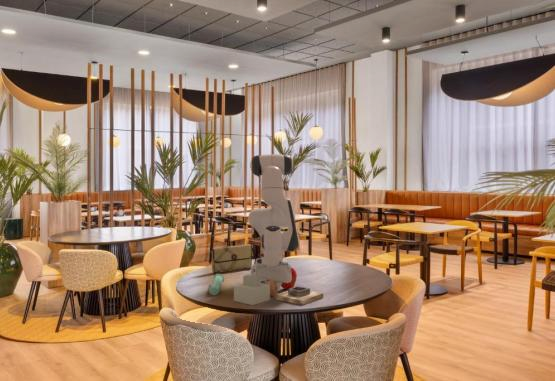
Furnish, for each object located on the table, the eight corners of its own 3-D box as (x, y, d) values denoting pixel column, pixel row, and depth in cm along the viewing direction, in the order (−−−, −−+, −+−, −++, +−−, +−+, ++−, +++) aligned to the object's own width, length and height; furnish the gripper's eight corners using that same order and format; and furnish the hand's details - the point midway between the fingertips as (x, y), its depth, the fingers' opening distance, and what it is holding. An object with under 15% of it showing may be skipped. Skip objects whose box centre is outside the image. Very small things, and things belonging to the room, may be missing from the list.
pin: (267, 295, 223) (267, 278, 223) (273, 293, 226) (272, 277, 226) (274, 296, 221) (273, 279, 220) (279, 295, 224) (279, 278, 223)
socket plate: (274, 299, 216) (274, 289, 216) (296, 292, 229) (296, 283, 229) (302, 305, 206) (302, 294, 206) (323, 297, 218) (323, 287, 218)
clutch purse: (214, 275, 271) (214, 249, 270) (209, 273, 277) (208, 247, 276) (258, 269, 287) (258, 244, 287) (252, 267, 293) (252, 243, 293)
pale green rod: (217, 283, 224) (221, 271, 249) (205, 288, 224) (211, 276, 249) (221, 294, 224) (226, 281, 249) (210, 299, 224) (215, 286, 249)
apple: (274, 289, 235) (274, 265, 234) (287, 286, 241) (286, 263, 241) (287, 292, 228) (287, 268, 228) (300, 289, 235) (300, 265, 234)
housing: (233, 300, 214) (233, 276, 214) (251, 295, 223) (251, 272, 223) (252, 305, 207) (252, 280, 206) (269, 299, 216) (269, 275, 215)
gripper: (294, 262, 219) (294, 291, 219) (261, 257, 232) (262, 285, 232) (286, 264, 214) (286, 294, 214) (253, 259, 227) (253, 287, 227)
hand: (273, 289), depth 223 cm, fingers closed on pin, 4 cm apart
